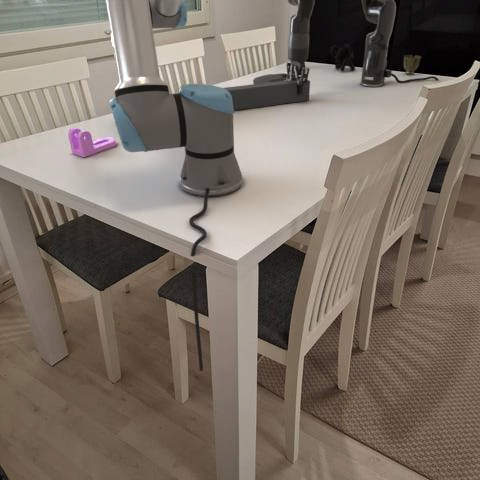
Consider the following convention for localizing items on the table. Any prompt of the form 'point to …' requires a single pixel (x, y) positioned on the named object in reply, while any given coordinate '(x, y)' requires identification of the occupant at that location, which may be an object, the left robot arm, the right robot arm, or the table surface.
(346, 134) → the table surface
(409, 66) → the cup
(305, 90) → the bar
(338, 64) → the black irregular legged piece
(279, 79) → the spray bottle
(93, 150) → the bracket
